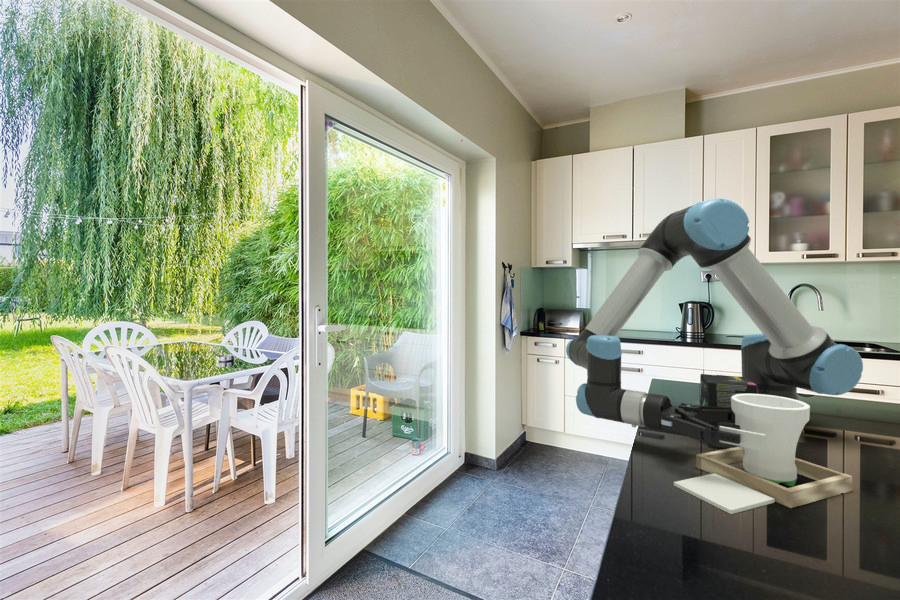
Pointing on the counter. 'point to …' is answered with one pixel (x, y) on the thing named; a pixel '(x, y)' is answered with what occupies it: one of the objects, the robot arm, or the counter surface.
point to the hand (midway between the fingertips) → (771, 433)
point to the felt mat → (724, 493)
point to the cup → (771, 434)
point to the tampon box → (723, 396)
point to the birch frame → (791, 497)
